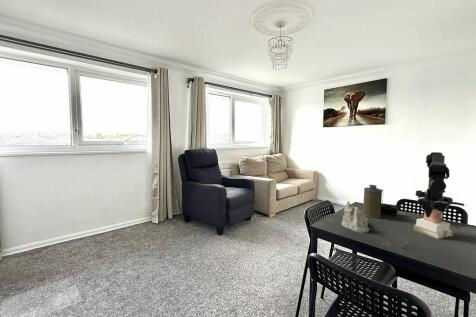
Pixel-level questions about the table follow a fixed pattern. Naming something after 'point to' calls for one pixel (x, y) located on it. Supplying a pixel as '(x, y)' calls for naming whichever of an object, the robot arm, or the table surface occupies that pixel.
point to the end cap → (389, 210)
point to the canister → (372, 201)
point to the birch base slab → (434, 234)
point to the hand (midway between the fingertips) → (433, 216)
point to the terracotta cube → (434, 216)
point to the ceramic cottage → (354, 219)
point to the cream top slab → (433, 225)
